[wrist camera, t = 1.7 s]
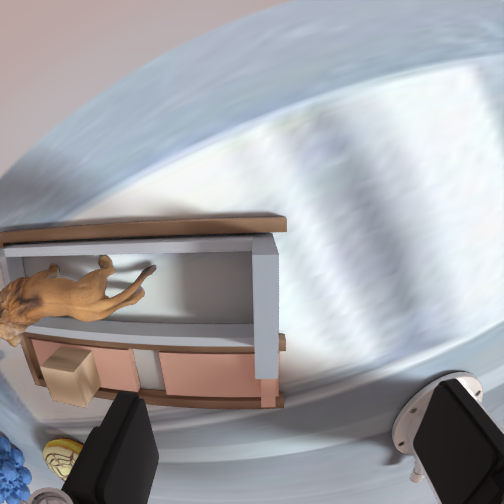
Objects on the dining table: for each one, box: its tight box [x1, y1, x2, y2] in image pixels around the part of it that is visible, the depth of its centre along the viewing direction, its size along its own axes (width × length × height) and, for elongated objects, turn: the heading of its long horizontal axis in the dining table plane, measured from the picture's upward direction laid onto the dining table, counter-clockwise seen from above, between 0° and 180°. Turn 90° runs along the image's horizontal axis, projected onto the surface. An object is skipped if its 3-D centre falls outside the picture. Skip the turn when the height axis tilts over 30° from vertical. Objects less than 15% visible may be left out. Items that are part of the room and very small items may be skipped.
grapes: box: [0, 436, 32, 504], centre depth 27 cm, size 12×7×12 cm, turn 32°
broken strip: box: [31, 338, 279, 407], centre depth 26 cm, size 5×26×3 cm, turn 91°
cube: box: [40, 347, 102, 408], centre depth 25 cm, size 4×4×4 cm
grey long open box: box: [0, 234, 279, 379], centre depth 23 cm, size 8×26×7 cm, turn 91°
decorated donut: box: [42, 438, 84, 481], centre depth 30 cm, size 10×11×4 cm
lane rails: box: [0, 217, 287, 409], centre depth 26 cm, size 18×28×1 cm, turn 91°
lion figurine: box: [0, 255, 156, 347], centre depth 22 cm, size 15×5×9 cm, turn 104°
